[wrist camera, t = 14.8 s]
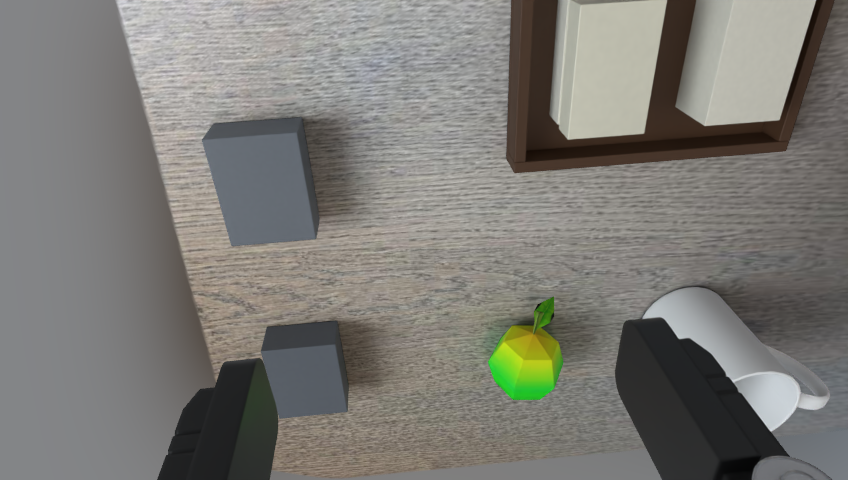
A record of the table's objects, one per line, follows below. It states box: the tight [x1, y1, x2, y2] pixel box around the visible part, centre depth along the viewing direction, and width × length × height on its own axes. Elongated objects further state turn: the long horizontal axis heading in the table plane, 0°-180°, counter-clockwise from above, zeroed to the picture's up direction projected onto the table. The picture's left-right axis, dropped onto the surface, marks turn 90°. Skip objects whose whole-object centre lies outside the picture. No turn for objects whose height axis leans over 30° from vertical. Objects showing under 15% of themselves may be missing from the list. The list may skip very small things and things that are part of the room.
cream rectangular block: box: [675, 0, 816, 126], centre depth 35 cm, size 8×5×4 cm, turn 3°
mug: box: [642, 287, 830, 432], centre depth 46 cm, size 12×8×10 cm, turn 83°
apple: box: [488, 297, 563, 400], centre depth 46 cm, size 7×6×9 cm
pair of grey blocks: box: [202, 117, 349, 418], centre depth 42 cm, size 26×6×3 cm, turn 3°
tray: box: [506, 0, 834, 173], centre depth 35 cm, size 15×20×3 cm
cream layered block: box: [549, 0, 667, 140], centre depth 34 cm, size 8×5×4 cm, turn 3°
